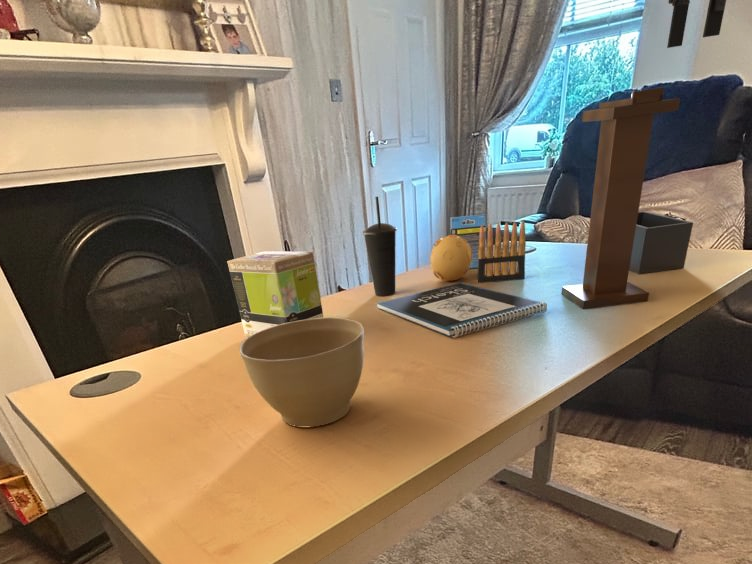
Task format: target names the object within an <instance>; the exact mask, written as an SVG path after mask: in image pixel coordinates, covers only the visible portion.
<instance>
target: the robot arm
mask: <svg viewBox="0 0 752 564" xmlns="http://www.w3.org/2000/svg"><path fill="white" fill-rule="evenodd" d="M690 4H691V1H690V0H668V5H672V8H673V9H672V15H671V21H670V27H669V32H668V39H667V47H666V48H667V49H670V48H676V47H677V48H678V47H682V46H683V43H684V42H683V41H684V36H685V30H686V25H687V24H686V23H687V19H688V13H689V7H690ZM726 4H727V0H709V2H708V6H707V11H706V18H705V23H704V28H703V34H702V38H711V37H717V36H720V33H721V28H722V23H723V19H724V14H725V8H726Z"/></svg>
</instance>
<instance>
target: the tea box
mask: <svg viewBox="0 0 752 564" xmlns="http://www.w3.org/2000/svg"><path fill="white" fill-rule="evenodd" d="M226 263H227V266H228V270H229V276H230V278H231V283H232V287H233V291H234V296H235V299H236V304H237V307H238V312H239V315H240V319H241V324H242V327H243V328H242V329H243V331H244V335H245V334H249V335H253V334H255V333H257V332H259V331H262V330H264V329H267V328H270V327H273V326H276V325H280V324H284V323H288V322H293V321H299V320H305V319H313V318H325V316H324V312H323V305H322V299H321V294H320V285H319V281H318V275H317V267H316V262H315V256H314V251H311V250H309V251H296V250H295V251H293V250H291V251H288V250H285V251H283V250H278V251H277V250H275V251H273V250H271V251H270V250H269V251H267V250H266V251H260V252H257V253H252V254H248V255H245V256H241V257H238V258H233V259H230V260H227V261H226Z"/></svg>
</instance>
